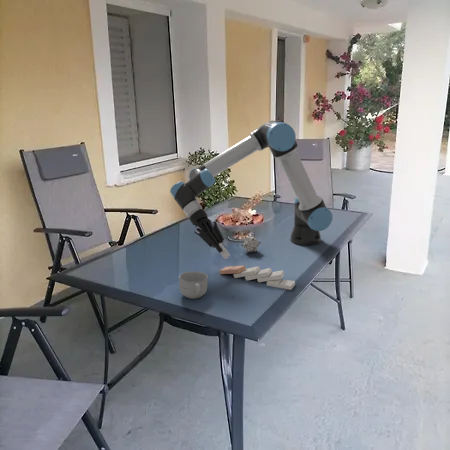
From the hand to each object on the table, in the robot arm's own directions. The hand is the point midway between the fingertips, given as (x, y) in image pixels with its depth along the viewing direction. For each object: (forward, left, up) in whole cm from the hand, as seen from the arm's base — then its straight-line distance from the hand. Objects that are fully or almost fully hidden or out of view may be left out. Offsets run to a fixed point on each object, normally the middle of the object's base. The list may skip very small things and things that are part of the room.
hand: (227, 257), depth 184 cm
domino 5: (-16, +12, -7) cm, 21 cm away
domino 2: (-3, +4, -6) cm, 8 cm away
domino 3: (-8, +7, -6) cm, 12 cm away
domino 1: (+2, -1, -6) cm, 7 cm away
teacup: (+14, +22, -7) cm, 27 cm away
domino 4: (-12, +9, -6) cm, 17 cm away
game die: (-12, -23, -7) cm, 27 cm away
